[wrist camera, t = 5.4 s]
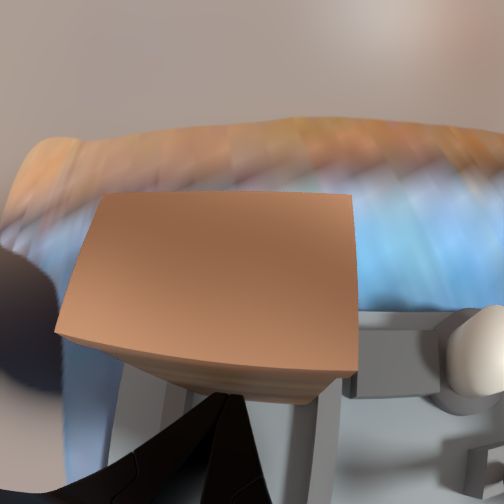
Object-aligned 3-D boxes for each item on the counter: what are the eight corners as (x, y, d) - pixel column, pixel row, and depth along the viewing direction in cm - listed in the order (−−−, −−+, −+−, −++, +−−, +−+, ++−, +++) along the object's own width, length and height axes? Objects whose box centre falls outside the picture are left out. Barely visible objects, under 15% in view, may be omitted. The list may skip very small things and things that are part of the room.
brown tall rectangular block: (309, 407, 13) (358, 370, 4) (199, 396, 14) (54, 332, 5) (313, 342, 15) (351, 195, 6) (208, 334, 16) (103, 193, 7)
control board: (538, 510, 7) (581, 514, 4) (111, 525, 11) (66, 542, 7) (541, 310, 14) (579, 281, 11) (146, 300, 18) (112, 264, 14)
